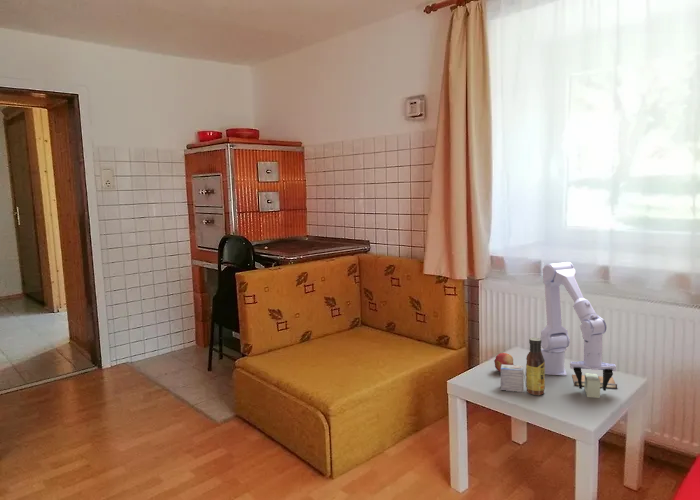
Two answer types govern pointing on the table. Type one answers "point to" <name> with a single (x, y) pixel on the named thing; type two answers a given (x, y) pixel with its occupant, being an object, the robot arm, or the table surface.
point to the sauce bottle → (535, 368)
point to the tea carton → (592, 385)
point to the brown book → (610, 384)
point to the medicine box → (512, 378)
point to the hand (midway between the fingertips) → (592, 388)
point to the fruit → (503, 360)
